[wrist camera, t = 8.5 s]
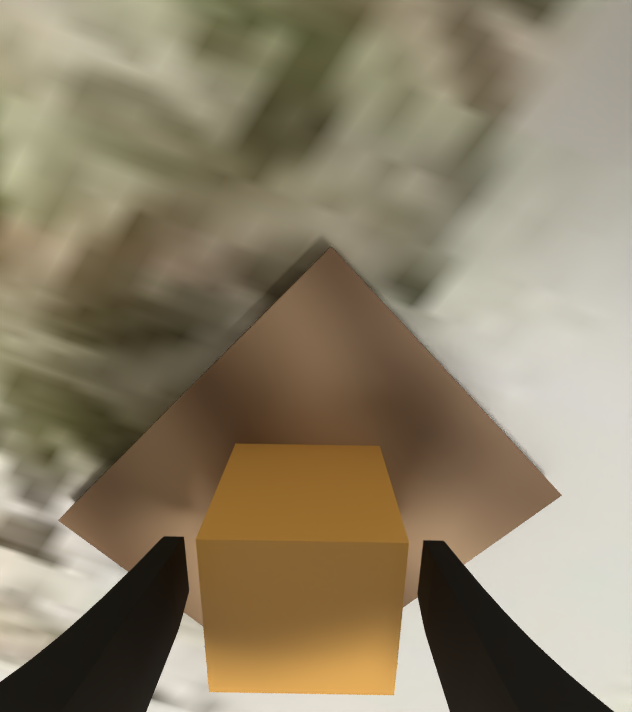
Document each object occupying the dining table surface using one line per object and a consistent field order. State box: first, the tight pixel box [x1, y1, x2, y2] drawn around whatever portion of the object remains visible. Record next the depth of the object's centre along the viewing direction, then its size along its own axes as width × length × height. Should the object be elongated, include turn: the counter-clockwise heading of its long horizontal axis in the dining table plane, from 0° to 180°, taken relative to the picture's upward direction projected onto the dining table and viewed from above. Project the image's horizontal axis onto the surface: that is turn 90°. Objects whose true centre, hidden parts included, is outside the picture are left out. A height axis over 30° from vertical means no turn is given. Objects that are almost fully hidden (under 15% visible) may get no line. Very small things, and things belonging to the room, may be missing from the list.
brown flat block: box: [58, 247, 562, 626], centre depth 13 cm, size 14×12×4 cm
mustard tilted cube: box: [196, 444, 409, 695], centre depth 12 cm, size 5×5×4 cm
